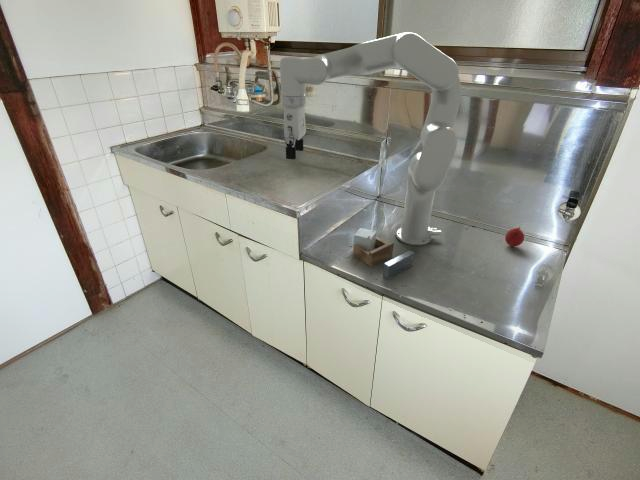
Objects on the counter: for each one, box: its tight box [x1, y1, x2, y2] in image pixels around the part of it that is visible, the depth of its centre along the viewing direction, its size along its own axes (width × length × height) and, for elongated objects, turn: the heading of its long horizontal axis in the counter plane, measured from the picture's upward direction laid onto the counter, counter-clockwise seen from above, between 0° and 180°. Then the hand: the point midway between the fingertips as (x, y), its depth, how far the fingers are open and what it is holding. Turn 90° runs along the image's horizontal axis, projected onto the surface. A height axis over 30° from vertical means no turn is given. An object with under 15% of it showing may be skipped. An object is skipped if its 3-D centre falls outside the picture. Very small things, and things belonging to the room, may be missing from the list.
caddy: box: [352, 236, 394, 267], centre depth 121 cm, size 8×10×5 cm
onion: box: [504, 226, 525, 248], centre depth 126 cm, size 6×6×8 cm
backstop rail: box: [382, 249, 415, 281], centre depth 114 cm, size 2×12×5 cm, turn 129°
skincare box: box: [352, 227, 377, 253], centre depth 123 cm, size 6×6×7 cm
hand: (295, 154), depth 122 cm, fingers open, 9 cm apart
